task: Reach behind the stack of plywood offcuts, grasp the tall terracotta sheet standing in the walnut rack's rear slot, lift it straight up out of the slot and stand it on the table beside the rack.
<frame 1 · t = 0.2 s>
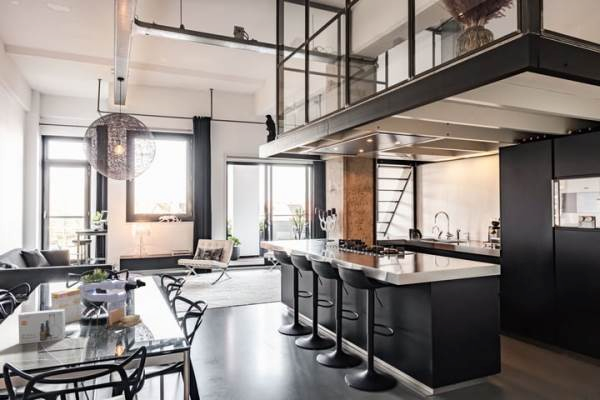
hand: (141, 285, 259), 21 cm above the table, tool horizontal, fingers open, 7 cm apart
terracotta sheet: (117, 322, 249), point 1 cm above the table, touching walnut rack
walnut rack: (123, 325, 247), on the table
plywood offcut stack: (130, 323, 245), point 1 cm above the table, touching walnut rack
coffeecake box: (66, 322, 259), on the table
skincare box: (42, 341, 222), on the table
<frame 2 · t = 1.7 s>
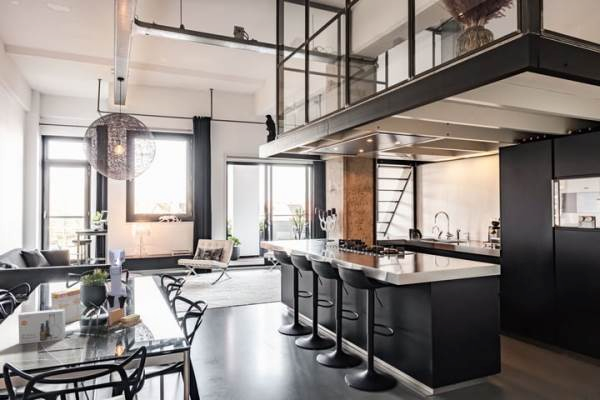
hand: (116, 308, 249), 10 cm above the table, tool pointing down, fingers open, 7 cm apart
nothing on the table moved.
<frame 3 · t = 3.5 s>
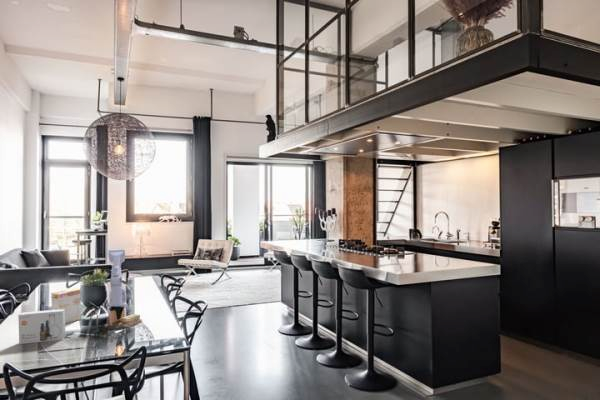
hand: (117, 318, 249), 3 cm above the table, tool pointing down, fingers closed on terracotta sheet, 2 cm apart
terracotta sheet: (117, 322, 249), point 1 cm above the table, touching gripper, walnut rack
everything else where it was.
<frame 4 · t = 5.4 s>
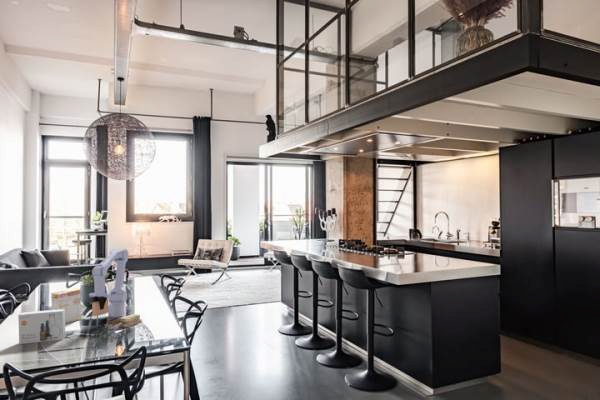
hand: (100, 309, 245), 10 cm above the table, tool pointing down, fingers closed on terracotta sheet
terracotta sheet: (100, 314, 245), point 7 cm above the table, touching gripper
everything else where it was.
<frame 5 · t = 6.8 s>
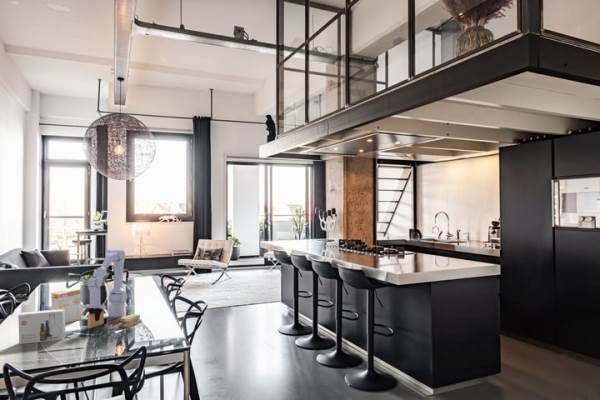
hand: (95, 320, 244), 4 cm above the table, tool pointing down, fingers closed on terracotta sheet, 2 cm apart
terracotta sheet: (95, 326, 244), on the table, touching gripper
everything else where it was.
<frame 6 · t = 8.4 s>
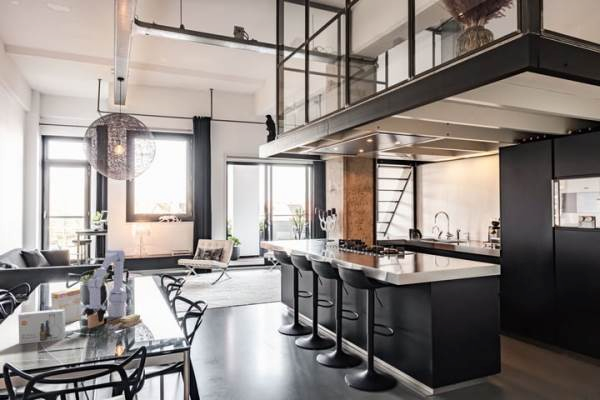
hand: (95, 321, 244), 4 cm above the table, tool pointing down, fingers open, 7 cm apart
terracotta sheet: (96, 327, 244), on the table
everything else where it was.
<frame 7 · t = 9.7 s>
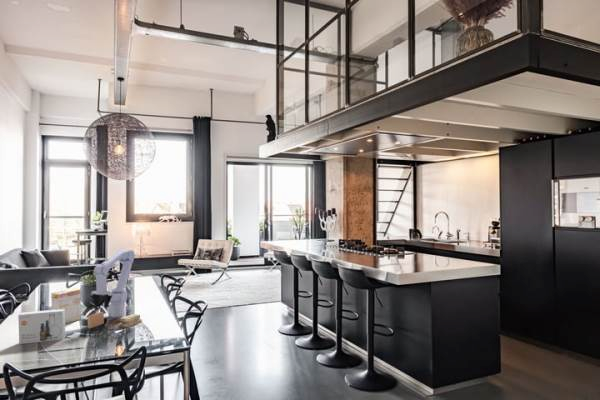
hand: (101, 306, 251), 10 cm above the table, tool pointing down, fingers open, 7 cm apart
nothing on the table moved.
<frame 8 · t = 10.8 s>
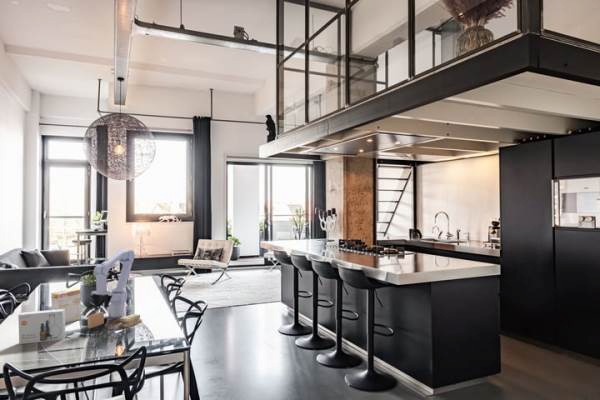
hand: (101, 306, 251), 10 cm above the table, tool pointing down, fingers open, 7 cm apart
nothing on the table moved.
at the end: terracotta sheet 0.1 cm from the target spot, on the table; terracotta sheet tilted 0°; plywood offcut stack moved 0.0 cm from its start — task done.
